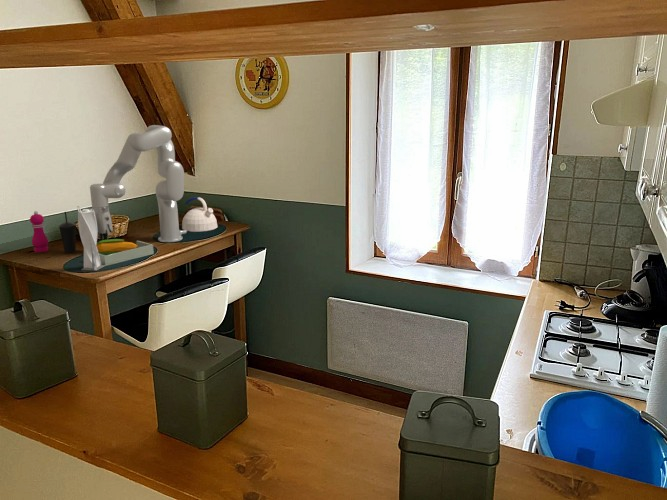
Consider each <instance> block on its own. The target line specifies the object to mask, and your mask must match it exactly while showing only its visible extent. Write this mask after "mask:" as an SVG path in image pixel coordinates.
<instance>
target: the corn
mask: <svg viewBox="0 0 667 500" xmlns="http://www.w3.org/2000/svg"><path fill="white" fill-rule="evenodd" d="M96 246H97V250H98V253H99V254H102V255H110V254H114V253H118V252H122V251H127V250H131V249H135V248H137V243H133V242H131V241H130V242H129V241H125V239H120V238H113V239H111V238H110V239H108V240H102V241H100V240H99V241H98V242H97V243H96Z"/></svg>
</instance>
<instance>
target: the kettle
mask: <svg viewBox="0 0 667 500" xmlns="http://www.w3.org/2000/svg"><path fill="white" fill-rule="evenodd" d="M194 200H198V201H200V202H201V204H202V207H191V208H190V210H188V212H186V214H184V217H183V218H182V221H181V222H182V223H181V229H182V231H183V230H186V231H187V232H193V233H196V232H197V233H198V232H199V233H200V232H201V233H202V232H208V231H214V230H215V229H217V228H218V222H217V218H216V216H215V214H214V210H213V208H212V207H208V206H207V203H206V201H205V200H204V199H203V198H202V197H200V196H199V197H198V196H197V197H196V196H195V197H190V198H188V199H187V201H185V204H186V205H187V204H189V203H190V202H192V201H194Z"/></svg>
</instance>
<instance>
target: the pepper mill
mask: <svg viewBox="0 0 667 500" xmlns="http://www.w3.org/2000/svg"><path fill="white" fill-rule="evenodd" d="M44 221H45V218H44V216H43V215H42V214H39V212H38V211H36V210H35V211H34V212H33V214H32V215H30V216H29V222H30V223H31V224H32V225H31V227H32V229H33V235H32V240H31V244H32V246H33V252H34V253H45V252H48V251H49V246H48V244H49V239H48V237H47V235H46V233H45V232H44Z"/></svg>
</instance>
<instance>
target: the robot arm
mask: <svg viewBox="0 0 667 500" xmlns="http://www.w3.org/2000/svg"><path fill="white" fill-rule="evenodd" d="M172 135H173V134H172V130H171V129H170V128H169V127H167V126H165V125H159V124H157V125H156V124H152V125H149V126H147V127H146V130H145V132H142V133H138V132H137V133H136V132H133V133H130V134H129V135H128V136H127V138H126V140H125V143H124V145H123V146H122V149H121V152H120V153H119V156H118V158H117V160H116V161H115V162H114V163H113V165H112V166H111V167H110V168H109V170H108V171H107V173H106V174H105V177H104V180H103V182H102V183H94V184H93V183H92V184H91V185H90V186H89V192H90V200H91V202H90V203H91V209H93V210H94V213H95V217H96V222H97V235H98V238H99V241H102V240H109V239H108V238H109V237H111V233H113V231H114V229H113V221H112V217H111V213H110V207H109V199H120V198H123V196H125V194H126V188H125V186H124V185H123V184H121V180H122V178H123V177H124V176H125V175H126V174H127V173H129V172H130V171H132V170H133V169H135V167H136V165H137V163H138V161H139V158H140V155H141V154H142V152H144V153H145V152H148V151H150V150H153V149H156V153H157V173H158V175H159V176H160V177H162V178H165V180H161V181H159V182H158V183H157V184H156V186H155V196H156V199H157V206H158V217H159V230H160V236H159V237H158V238H157V240H158V241H159V242H161V243H175V242H180V241H182V240H183V235H185V234H187V232H188V231H186V230H183V229H182V230H181V229H180V226H179V225H180V224H179V211H178V204H177V203H178V201H180V200H181V199H182V198H183V196H184V194H185V193H184V192H185V170H184V167H183V165H182V164H181V162H179V161H176V151H175V146H174V145H175V144H174V143H173V141H172V138H173V137H172Z"/></svg>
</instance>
